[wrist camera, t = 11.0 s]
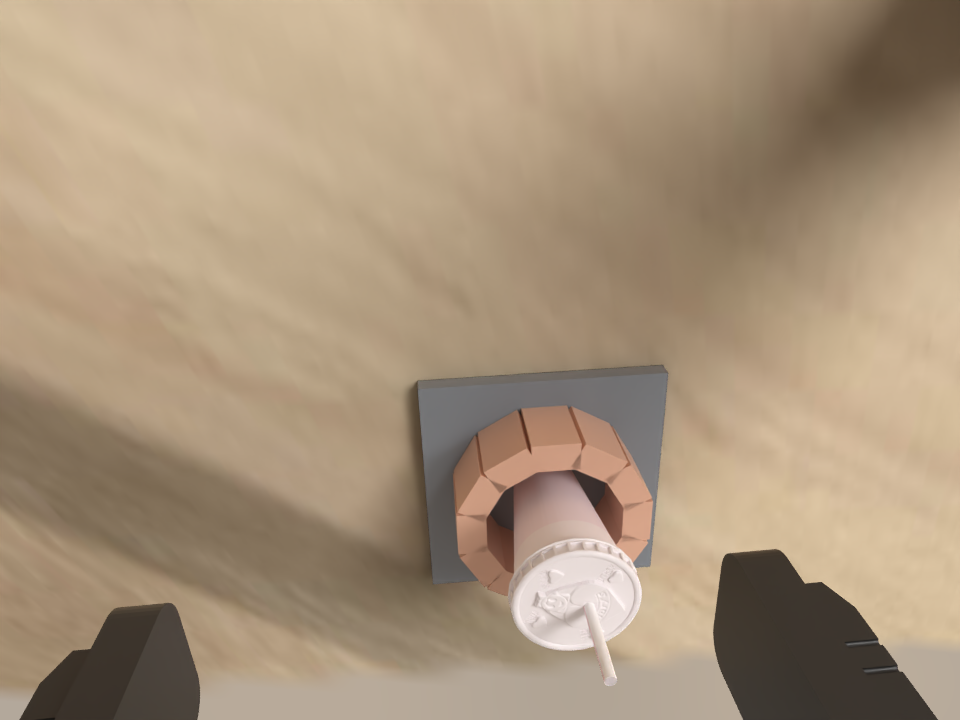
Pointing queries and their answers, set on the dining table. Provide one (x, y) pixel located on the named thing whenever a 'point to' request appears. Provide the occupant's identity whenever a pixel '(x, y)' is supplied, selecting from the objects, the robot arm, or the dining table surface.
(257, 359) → the dining table surface
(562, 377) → the collar
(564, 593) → the smoothie
